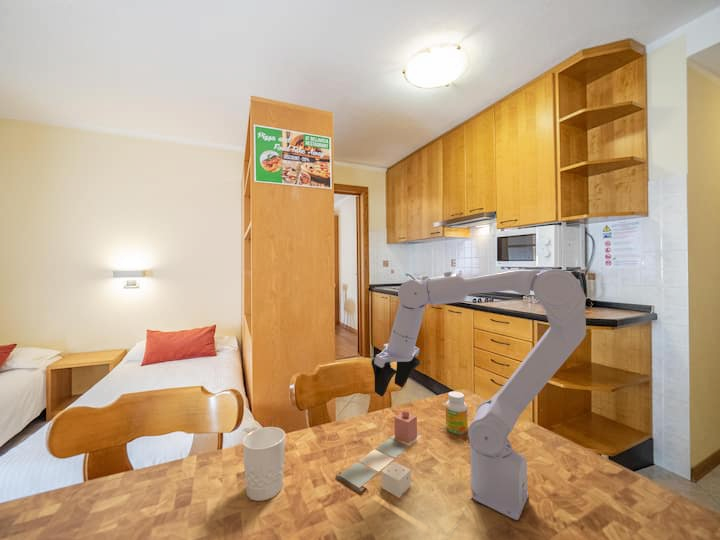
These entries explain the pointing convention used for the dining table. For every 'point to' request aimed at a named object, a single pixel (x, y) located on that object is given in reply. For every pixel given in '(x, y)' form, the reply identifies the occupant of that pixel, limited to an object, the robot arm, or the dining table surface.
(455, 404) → the supplement bottle
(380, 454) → the track
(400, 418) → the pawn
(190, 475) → the dining table surface
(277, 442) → the white cup
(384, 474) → the die
